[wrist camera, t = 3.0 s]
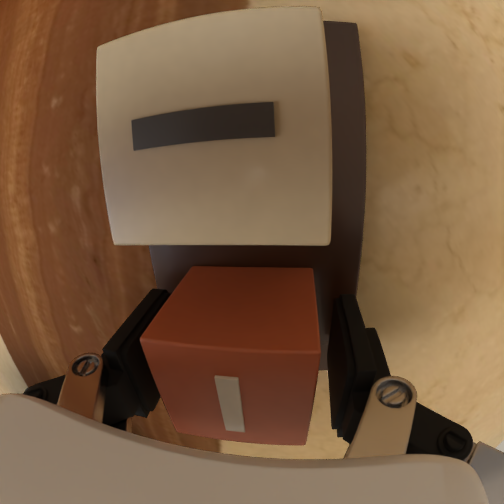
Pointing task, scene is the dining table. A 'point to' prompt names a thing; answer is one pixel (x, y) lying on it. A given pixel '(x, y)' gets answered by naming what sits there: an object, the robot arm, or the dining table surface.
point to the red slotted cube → (238, 353)
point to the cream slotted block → (218, 130)
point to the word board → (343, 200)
